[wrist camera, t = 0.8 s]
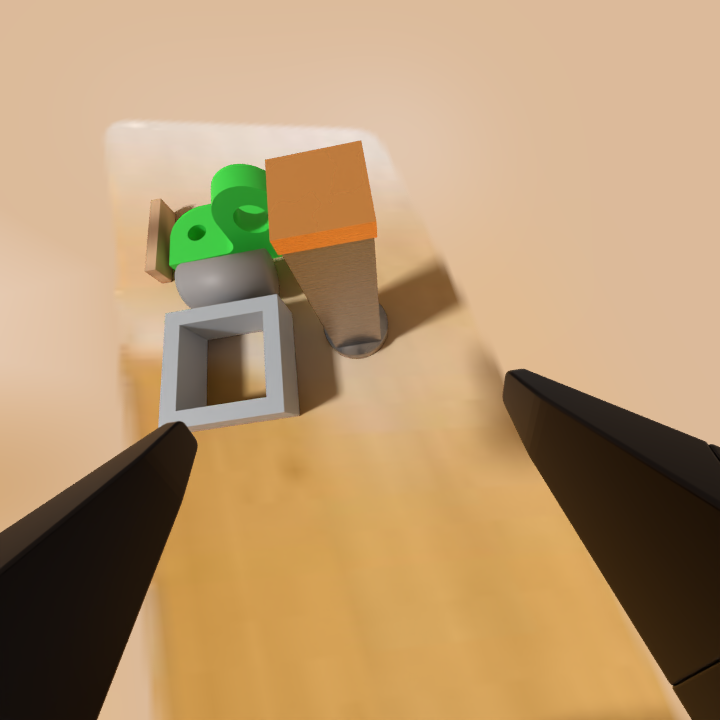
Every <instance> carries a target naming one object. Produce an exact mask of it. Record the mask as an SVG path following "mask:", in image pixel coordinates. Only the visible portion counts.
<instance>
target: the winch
mask: <svg viewBox="0 0 720 720" xmlns="http://www.w3.org/2000/svg"><path fill="white" fill-rule="evenodd" d="M175 283H176V287H177V290H178V292H179V294H180V296H181V298H182V299H183V301H184V302H185V303H186V304H187V305H188V306H189V307H190V308H191V309H188V310H182V311H177V312H171V313H165V329H164V345H163V362H162V378H161V394H160V410H159V426H158V428H159V427H161V426H162V425H164V424H166V423H169V422H176V421H182V422H184V423H185V424H186V426H187V427H188V429H189V430H190V431H191V432H194V431H201V430H207V429H214V428H221V427H228V426H234V425H241V424H248V423H254V422H261V421H268V420H274V419H281V418H288V417H294V416H300V410H299V397H298V384H297V371H296V358H295V345H294V332H293V319H292V313H291V311H290V310H289V309H288V307H287V306H286V305H285V304H284V302H283V301H282V300H281V298H280V297H279V296H278V295H279V279H278V274H277V270H276V267H275V264H274V262H273V259H272V257H271V255H270V254H269V252H268V251H267V250H266V249H265V248H262V249H257V250H251V251H246V252H241V253H235V254H230V255H224V256H219V257H213V258H208V259H202V260H197V261H192V262H186V263H181V264H179V265H178V266H177V267H176V270H175ZM259 331H263V332H264V355H265V378H266V397H264V398H257V399H251V400H244V401H238V402H231V403H225V404H218V405H212V406H207V351H208V340H211V339H217V338H223V337H229V336H235V335H241V334H247V333H253V332H259Z"/></svg>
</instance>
